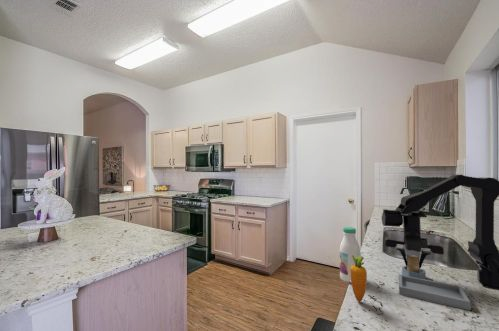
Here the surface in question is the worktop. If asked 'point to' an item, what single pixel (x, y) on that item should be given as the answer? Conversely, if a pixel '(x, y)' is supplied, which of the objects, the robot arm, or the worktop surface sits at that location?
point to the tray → (434, 291)
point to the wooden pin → (413, 263)
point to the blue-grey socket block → (414, 273)
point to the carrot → (358, 278)
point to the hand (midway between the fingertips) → (413, 266)
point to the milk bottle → (348, 252)
